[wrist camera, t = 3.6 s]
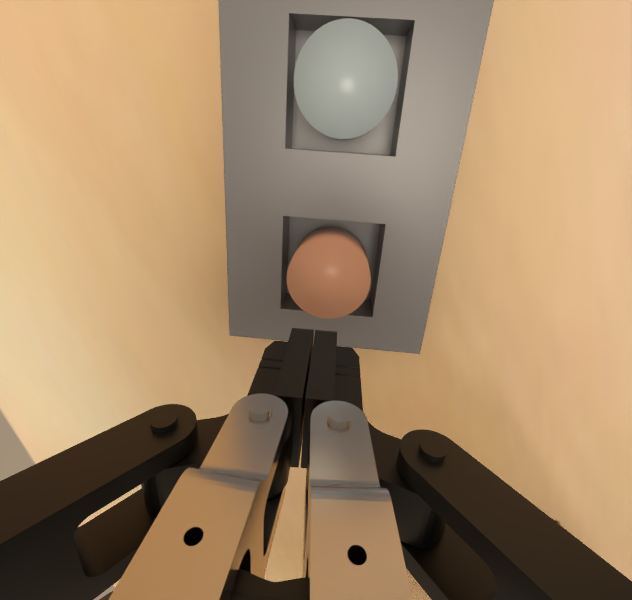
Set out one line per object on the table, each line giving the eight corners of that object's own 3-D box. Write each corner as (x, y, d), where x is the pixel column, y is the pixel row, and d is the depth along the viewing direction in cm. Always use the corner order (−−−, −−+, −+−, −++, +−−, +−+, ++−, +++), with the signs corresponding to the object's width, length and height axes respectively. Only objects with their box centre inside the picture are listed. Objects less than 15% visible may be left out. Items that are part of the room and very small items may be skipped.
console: (534, -302, 14) (579, -412, 11) (411, 331, 25) (419, 353, 22) (231, -306, 15) (205, -411, 12) (242, 315, 26) (229, 335, 23)
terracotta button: (372, 230, 21) (375, 243, 18) (363, 300, 22) (365, 322, 20) (295, 224, 21) (288, 235, 18) (292, 294, 23) (285, 314, 20)
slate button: (396, 41, 17) (405, 21, 14) (383, 142, 19) (389, 142, 16) (304, 36, 17) (295, 15, 14) (299, 136, 19) (291, 135, 16)
